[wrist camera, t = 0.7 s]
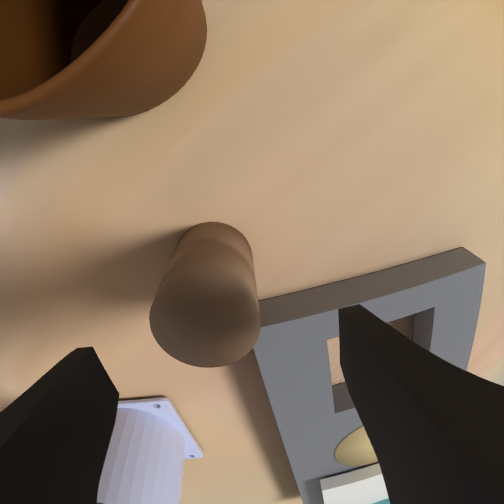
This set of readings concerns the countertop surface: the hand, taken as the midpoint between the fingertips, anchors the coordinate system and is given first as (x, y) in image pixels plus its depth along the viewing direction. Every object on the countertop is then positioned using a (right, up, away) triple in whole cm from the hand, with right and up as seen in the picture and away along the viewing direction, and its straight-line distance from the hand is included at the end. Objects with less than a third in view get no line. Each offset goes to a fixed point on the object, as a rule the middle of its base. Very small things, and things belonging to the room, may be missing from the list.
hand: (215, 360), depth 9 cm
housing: (+10, -10, +14) cm, 20 cm away
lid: (+13, -19, +15) cm, 27 cm away
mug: (-7, +14, +4) cm, 16 cm away
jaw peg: (-1, +3, +8) cm, 9 cm away
